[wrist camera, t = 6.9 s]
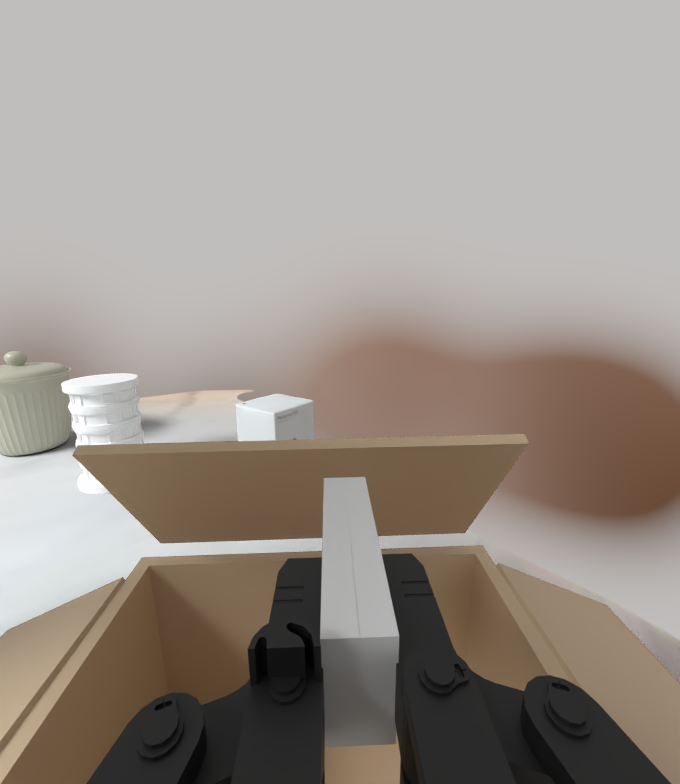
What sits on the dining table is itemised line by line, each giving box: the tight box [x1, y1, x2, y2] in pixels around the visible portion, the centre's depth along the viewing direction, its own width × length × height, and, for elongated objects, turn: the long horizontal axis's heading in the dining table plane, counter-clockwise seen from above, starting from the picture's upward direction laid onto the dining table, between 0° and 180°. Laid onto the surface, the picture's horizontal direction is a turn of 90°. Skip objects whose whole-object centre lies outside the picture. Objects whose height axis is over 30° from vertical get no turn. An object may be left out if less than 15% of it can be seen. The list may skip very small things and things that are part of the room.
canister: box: [0, 351, 72, 456], centre depth 78 cm, size 18×18×21 cm
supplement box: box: [235, 394, 314, 441], centre depth 59 cm, size 9×9×15 cm
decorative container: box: [61, 373, 144, 494], centre depth 63 cm, size 12×12×18 cm
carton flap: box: [73, 434, 529, 543], centre depth 20 cm, size 1×20×10 cm
